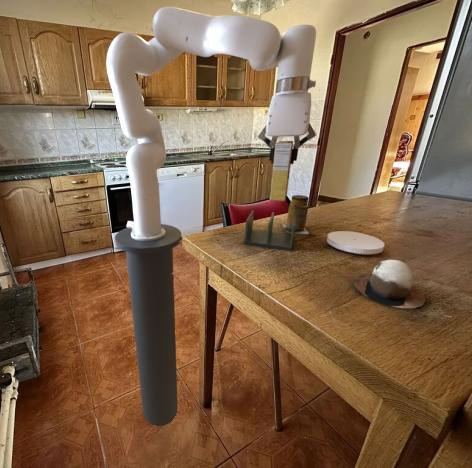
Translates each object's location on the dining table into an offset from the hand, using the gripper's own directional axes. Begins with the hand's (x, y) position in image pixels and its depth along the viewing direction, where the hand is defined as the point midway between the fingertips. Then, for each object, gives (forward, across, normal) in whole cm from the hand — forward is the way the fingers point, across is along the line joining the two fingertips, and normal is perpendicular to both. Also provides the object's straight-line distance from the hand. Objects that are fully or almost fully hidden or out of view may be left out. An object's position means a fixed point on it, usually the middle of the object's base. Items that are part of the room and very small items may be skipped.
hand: (282, 162), depth 71 cm
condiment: (+26, -6, -18) cm, 32 cm away
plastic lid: (+26, -22, -8) cm, 35 cm away
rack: (+25, +1, -4) cm, 26 cm away
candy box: (+10, 0, 0) cm, 10 cm away
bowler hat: (+26, -25, +16) cm, 39 cm away
